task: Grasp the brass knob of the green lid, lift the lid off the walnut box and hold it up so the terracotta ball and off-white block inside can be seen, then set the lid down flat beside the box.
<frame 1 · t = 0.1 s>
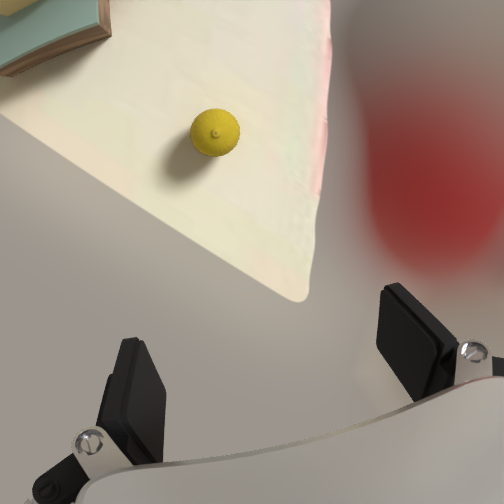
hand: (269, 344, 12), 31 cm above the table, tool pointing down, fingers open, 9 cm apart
box: (55, 8, 26), on the table
lemon: (213, 131, 37), on the table
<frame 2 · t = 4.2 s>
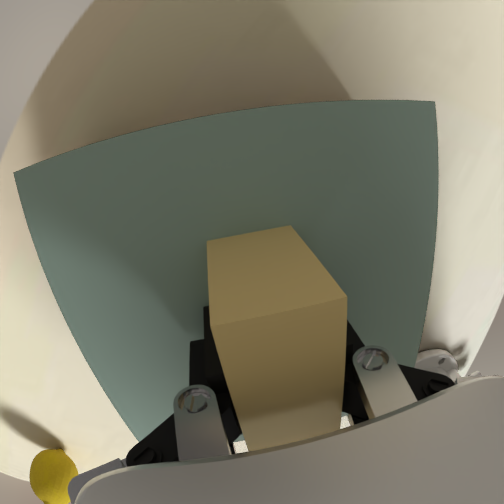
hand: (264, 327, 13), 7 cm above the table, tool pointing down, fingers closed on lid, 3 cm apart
lid: (259, 311, 14), point 6 cm above the table, touching box, gripper
lemon: (61, 448, 25), on the table
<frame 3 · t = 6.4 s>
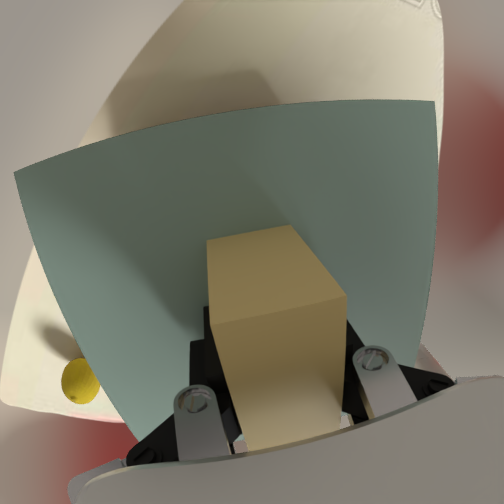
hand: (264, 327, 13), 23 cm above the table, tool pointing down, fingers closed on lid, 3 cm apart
lid: (259, 310, 14), point 22 cm above the table, touching gripper
lemon: (88, 360, 40), on the table
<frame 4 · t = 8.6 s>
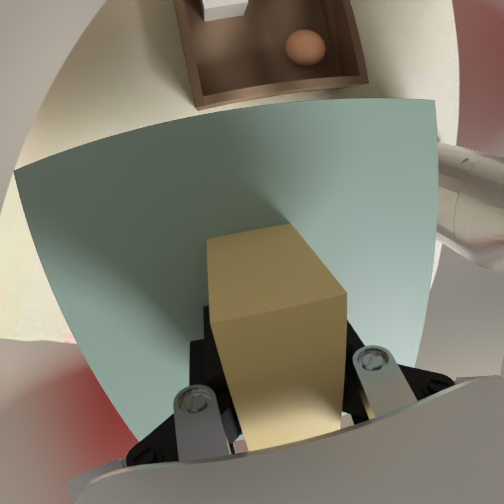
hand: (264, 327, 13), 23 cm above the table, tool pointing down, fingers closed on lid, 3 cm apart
lid: (259, 309, 14), point 22 cm above the table, touching gripper
ball: (299, 51, 28), point 1 cm above the table, touching box
box: (259, 27, 27), on the table
block: (220, 2, 25), point 1 cm above the table, touching box
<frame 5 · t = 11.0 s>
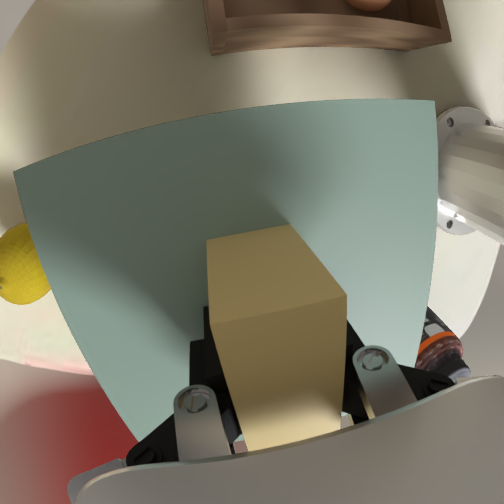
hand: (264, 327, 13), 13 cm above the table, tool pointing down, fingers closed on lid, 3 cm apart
lid: (259, 310, 14), point 12 cm above the table, touching gripper
supplement bottle: (392, 312, 30), on the table
lemon: (49, 241, 23), on the table
when the fingers open (4 cm above the table, at t = 13.0 s): lid drops 3 cm, on the table.
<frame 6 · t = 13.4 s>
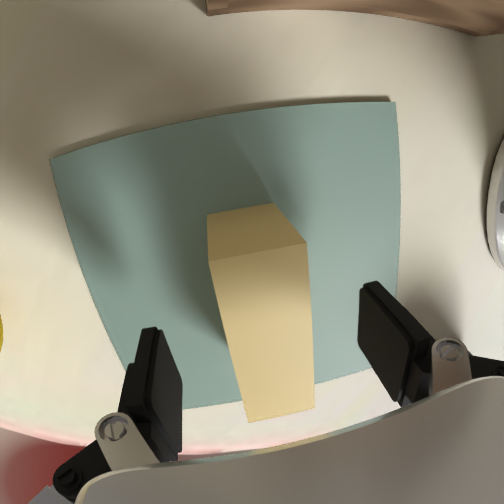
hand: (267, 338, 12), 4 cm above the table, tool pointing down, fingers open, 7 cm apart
lid: (250, 277, 17), on the table
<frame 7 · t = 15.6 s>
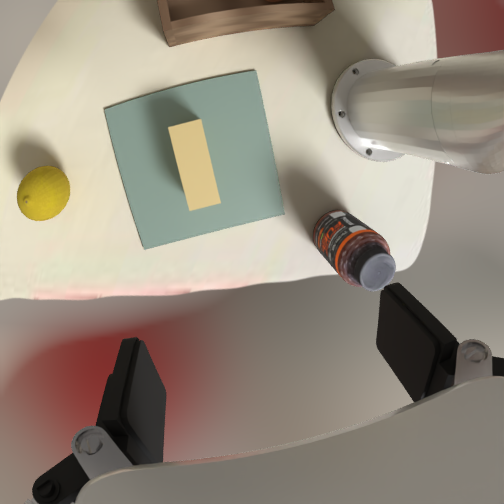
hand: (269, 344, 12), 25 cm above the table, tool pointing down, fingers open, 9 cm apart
lid: (195, 159, 33), on the table
supplement bottle: (333, 231, 38), on the table
lemon: (59, 184, 31), on the table
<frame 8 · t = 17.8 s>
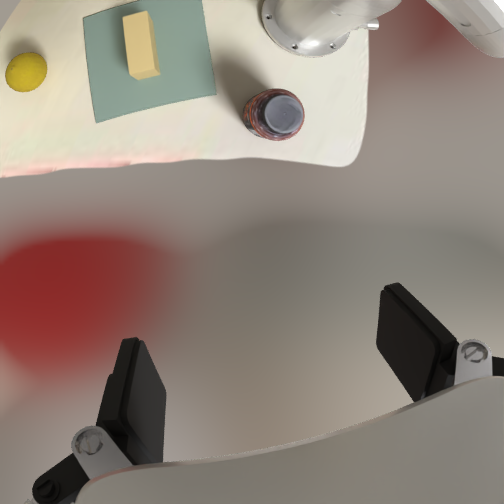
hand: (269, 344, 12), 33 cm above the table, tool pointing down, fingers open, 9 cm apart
lid: (146, 52, 34), on the table
supplement bottle: (264, 115, 39), on the table
lemon: (40, 75, 32), on the table
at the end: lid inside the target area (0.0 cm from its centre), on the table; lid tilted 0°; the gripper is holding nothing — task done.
